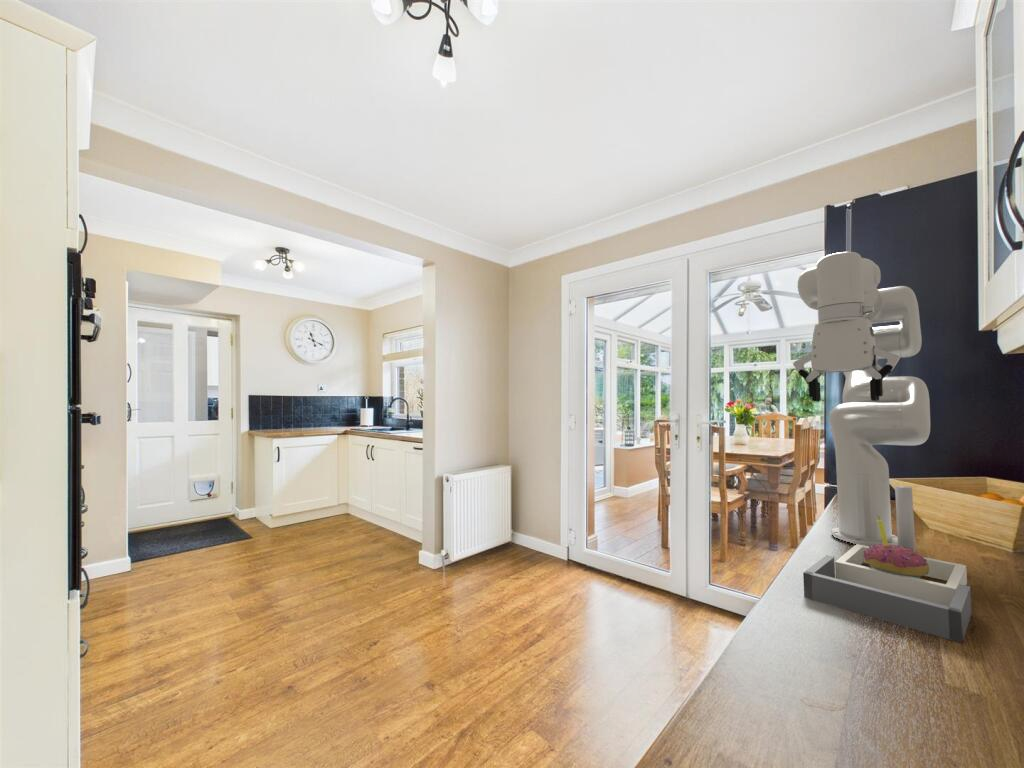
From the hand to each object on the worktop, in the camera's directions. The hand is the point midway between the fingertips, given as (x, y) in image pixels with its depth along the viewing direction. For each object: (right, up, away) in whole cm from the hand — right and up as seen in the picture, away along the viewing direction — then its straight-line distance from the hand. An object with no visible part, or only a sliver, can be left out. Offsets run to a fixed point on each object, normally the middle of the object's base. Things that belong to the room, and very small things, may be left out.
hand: (844, 400), depth 88 cm
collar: (+2, -32, -10) cm, 34 cm away
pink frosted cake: (0, -32, -12) cm, 34 cm away
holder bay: (-8, -32, -18) cm, 37 cm away
